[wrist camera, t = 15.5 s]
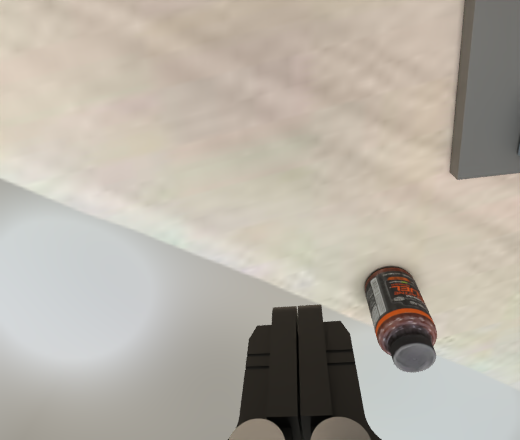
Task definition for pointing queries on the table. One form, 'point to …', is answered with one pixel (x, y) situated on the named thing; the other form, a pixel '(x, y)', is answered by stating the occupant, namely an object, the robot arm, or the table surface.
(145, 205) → the table surface
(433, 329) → the supplement bottle
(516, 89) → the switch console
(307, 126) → the table surface
